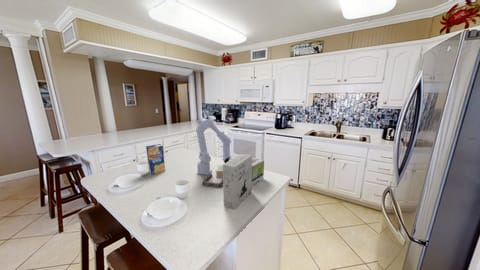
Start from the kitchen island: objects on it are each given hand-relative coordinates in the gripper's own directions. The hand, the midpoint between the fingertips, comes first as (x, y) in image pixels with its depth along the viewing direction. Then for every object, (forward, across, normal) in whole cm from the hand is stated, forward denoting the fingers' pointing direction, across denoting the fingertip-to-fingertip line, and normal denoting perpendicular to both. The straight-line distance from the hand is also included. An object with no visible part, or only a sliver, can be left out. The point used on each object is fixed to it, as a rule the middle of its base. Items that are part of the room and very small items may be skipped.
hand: (226, 165), depth 156 cm
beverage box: (+2, -22, +54) cm, 58 cm away
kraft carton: (+2, -13, 0) cm, 14 cm away
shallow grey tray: (+1, -28, 0) cm, 28 cm away
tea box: (+2, -20, -26) cm, 33 cm away
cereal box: (+2, -45, -22) cm, 50 cm away
